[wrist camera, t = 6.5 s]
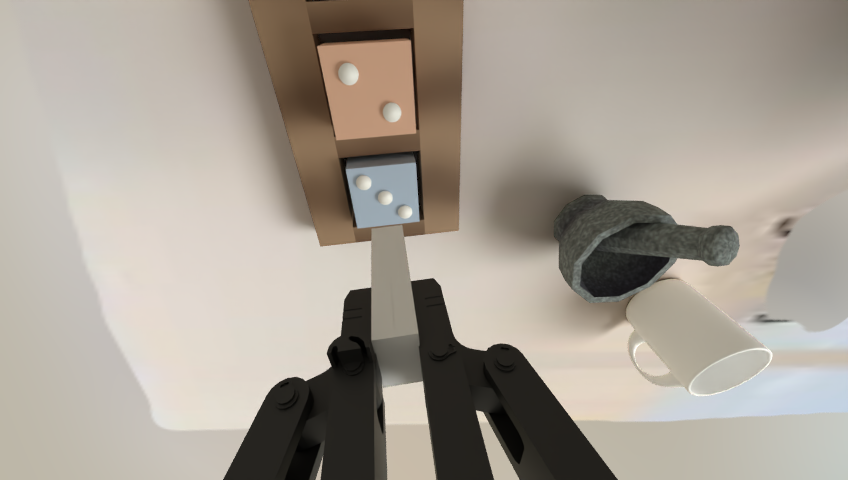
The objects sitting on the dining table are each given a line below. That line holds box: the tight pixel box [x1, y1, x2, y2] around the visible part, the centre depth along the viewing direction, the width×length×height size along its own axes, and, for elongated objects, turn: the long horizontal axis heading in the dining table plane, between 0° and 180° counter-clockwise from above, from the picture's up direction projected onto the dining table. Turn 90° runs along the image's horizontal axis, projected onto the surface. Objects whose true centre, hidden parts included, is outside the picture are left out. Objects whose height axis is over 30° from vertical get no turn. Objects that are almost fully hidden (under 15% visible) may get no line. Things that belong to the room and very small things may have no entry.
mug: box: [626, 279, 772, 396], centre depth 38 cm, size 9×12×11 cm
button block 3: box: [346, 151, 420, 228], centre depth 25 cm, size 5×5×3 cm
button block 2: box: [317, 38, 416, 140], centre depth 19 cm, size 5×5×3 cm
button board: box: [248, 0, 463, 246], centre depth 21 cm, size 24×12×2 cm, turn 3°
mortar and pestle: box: [554, 195, 740, 303], centre depth 27 cm, size 11×9×12 cm
